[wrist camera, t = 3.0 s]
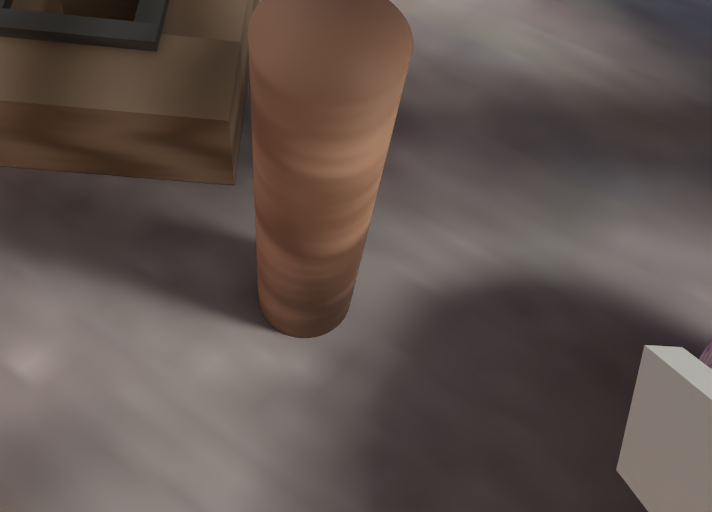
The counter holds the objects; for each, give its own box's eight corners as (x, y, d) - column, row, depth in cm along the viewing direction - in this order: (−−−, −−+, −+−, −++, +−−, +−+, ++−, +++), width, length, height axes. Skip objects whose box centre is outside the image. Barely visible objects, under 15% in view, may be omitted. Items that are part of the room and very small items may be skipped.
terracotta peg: (351, 258, 33) (411, -13, 19) (349, 340, 30) (414, 104, 17) (262, 251, 32) (256, -30, 18) (254, 334, 30) (239, 87, 16)
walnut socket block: (262, -21, 42) (261, -106, 37) (234, 184, 34) (227, 111, 29) (0, -50, 40) (-37, -142, 35) (-92, 158, 33) (-156, 76, 28)
